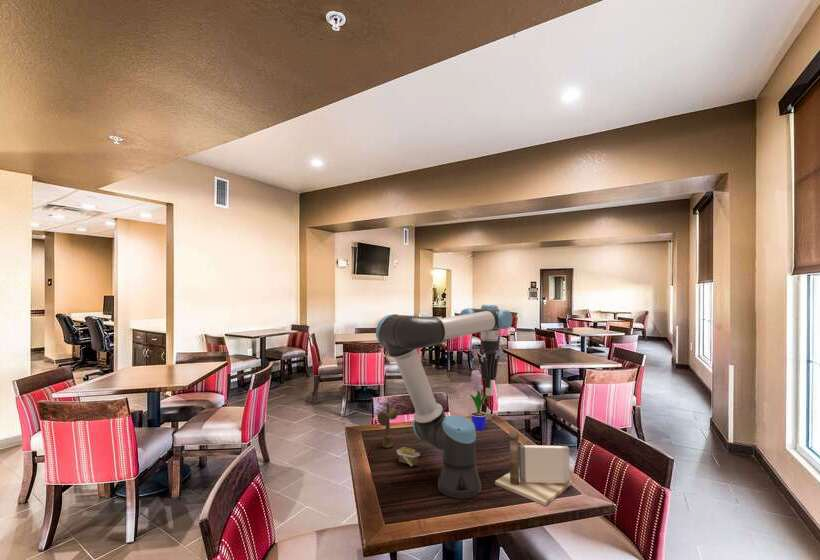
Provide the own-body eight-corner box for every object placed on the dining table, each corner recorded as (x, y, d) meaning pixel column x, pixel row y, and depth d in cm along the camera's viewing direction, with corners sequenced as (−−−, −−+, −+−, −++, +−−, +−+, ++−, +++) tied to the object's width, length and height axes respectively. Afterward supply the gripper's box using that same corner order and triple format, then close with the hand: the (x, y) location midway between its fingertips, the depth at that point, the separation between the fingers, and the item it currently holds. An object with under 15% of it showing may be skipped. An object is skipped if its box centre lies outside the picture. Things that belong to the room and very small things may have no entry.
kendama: (376, 449, 162) (376, 403, 163) (386, 441, 171) (386, 398, 172) (388, 451, 160) (388, 405, 161) (398, 443, 169) (398, 399, 170)
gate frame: (545, 506, 118) (544, 444, 119) (495, 484, 132) (494, 429, 133) (571, 484, 132) (570, 429, 133) (523, 466, 146) (522, 417, 147)
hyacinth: (491, 431, 185) (491, 371, 186) (471, 431, 185) (471, 371, 186) (488, 425, 193) (488, 367, 195) (469, 425, 194) (468, 367, 195)
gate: (520, 482, 130) (520, 447, 130) (519, 479, 132) (519, 445, 132) (569, 483, 129) (569, 448, 129) (567, 480, 131) (567, 446, 131)
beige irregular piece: (421, 476, 138) (421, 458, 139) (380, 467, 146) (380, 450, 146) (433, 463, 149) (433, 447, 150) (394, 455, 157) (394, 440, 157)
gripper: (489, 341, 153) (489, 399, 151) (504, 340, 163) (504, 394, 160) (474, 340, 158) (473, 395, 156) (489, 339, 168) (489, 391, 166)
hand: (489, 395), depth 158 cm, fingers closed
